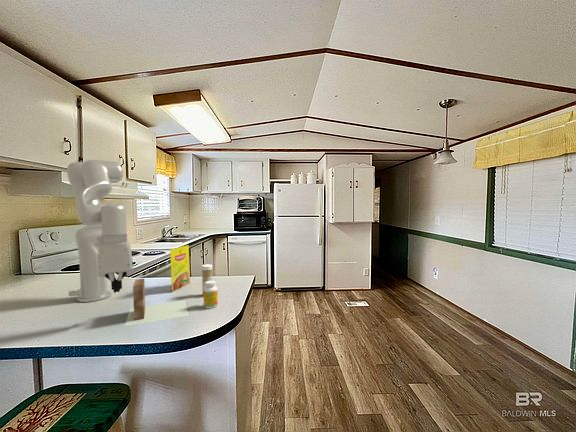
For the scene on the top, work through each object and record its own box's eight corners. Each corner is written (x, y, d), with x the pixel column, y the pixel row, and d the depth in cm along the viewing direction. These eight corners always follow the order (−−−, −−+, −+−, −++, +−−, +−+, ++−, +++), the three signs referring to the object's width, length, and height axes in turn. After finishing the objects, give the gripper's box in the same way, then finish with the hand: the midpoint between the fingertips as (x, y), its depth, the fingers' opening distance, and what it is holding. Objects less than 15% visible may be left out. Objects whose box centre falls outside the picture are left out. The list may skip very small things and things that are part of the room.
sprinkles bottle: (200, 295, 123) (199, 265, 123) (209, 292, 127) (208, 263, 126) (206, 297, 120) (205, 266, 120) (215, 294, 124) (214, 264, 123)
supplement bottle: (205, 309, 106) (204, 284, 106) (202, 305, 111) (202, 281, 110) (219, 307, 108) (218, 282, 108) (216, 302, 113) (215, 279, 113)
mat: (124, 327, 91) (124, 326, 91) (130, 309, 107) (130, 308, 107) (188, 316, 99) (188, 315, 99) (184, 301, 116) (184, 300, 116)
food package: (172, 292, 128) (171, 249, 127) (170, 292, 128) (169, 249, 128) (190, 283, 143) (189, 244, 142) (188, 283, 143) (187, 244, 143)
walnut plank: (134, 320, 96) (132, 286, 95) (136, 310, 105) (135, 279, 104) (144, 318, 97) (142, 285, 97) (145, 309, 106) (144, 278, 106)
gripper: (86, 242, 90) (88, 297, 91) (138, 239, 97) (140, 291, 97) (91, 240, 97) (94, 291, 98) (139, 237, 103) (141, 285, 104)
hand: (117, 291), depth 98 cm, fingers closed
